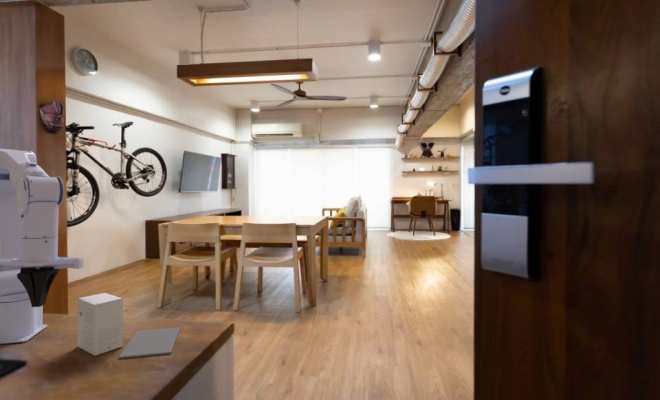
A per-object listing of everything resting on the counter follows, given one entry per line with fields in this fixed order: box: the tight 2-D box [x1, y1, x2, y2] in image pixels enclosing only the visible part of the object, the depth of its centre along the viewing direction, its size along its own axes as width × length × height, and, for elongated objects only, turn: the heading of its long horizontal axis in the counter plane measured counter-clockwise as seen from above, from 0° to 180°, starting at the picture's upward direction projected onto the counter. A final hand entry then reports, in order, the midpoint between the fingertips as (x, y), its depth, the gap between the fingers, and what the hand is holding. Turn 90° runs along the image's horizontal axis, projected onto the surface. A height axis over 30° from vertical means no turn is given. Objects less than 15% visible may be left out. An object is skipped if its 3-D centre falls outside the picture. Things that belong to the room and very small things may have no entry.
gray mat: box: [118, 326, 181, 360], centre depth 77 cm, size 14×10×1 cm
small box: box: [77, 292, 124, 356], centre depth 74 cm, size 8×6×10 cm
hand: (38, 305), depth 69 cm, fingers closed
